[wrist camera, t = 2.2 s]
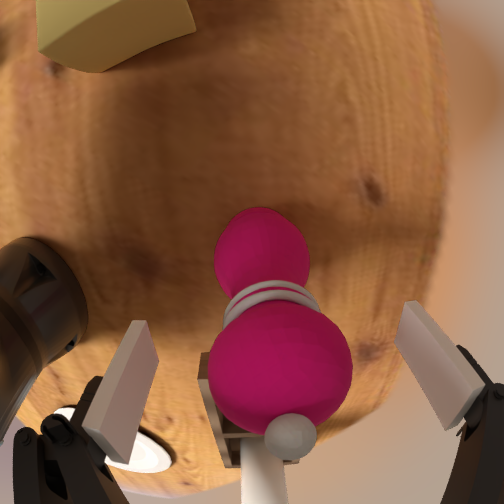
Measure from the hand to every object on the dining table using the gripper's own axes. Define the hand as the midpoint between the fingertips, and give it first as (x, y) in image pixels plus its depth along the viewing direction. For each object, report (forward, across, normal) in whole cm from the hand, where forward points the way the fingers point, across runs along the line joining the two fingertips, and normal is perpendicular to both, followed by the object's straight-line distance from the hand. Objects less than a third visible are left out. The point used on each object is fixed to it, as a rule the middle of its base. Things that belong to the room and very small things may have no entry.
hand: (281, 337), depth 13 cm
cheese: (+14, -10, +23) cm, 29 cm away
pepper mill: (+14, 0, 0) cm, 14 cm away
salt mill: (+12, -2, -30) cm, 33 cm away
